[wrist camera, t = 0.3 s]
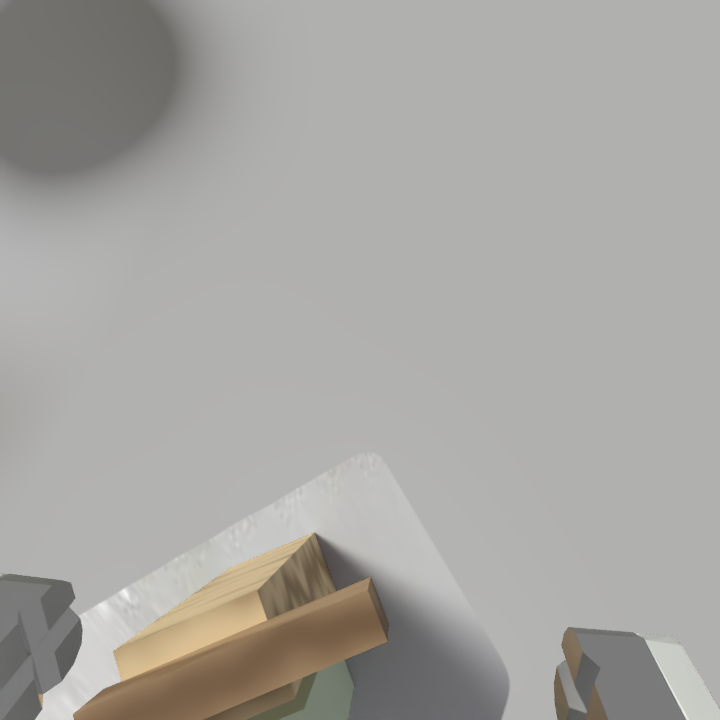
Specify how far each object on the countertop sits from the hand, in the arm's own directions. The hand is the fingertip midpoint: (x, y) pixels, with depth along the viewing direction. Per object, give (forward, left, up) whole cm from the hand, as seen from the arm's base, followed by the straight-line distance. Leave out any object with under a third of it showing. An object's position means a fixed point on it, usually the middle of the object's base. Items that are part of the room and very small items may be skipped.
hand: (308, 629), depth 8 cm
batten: (-8, +14, -30) cm, 34 cm away
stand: (-8, +18, -56) cm, 60 cm away
